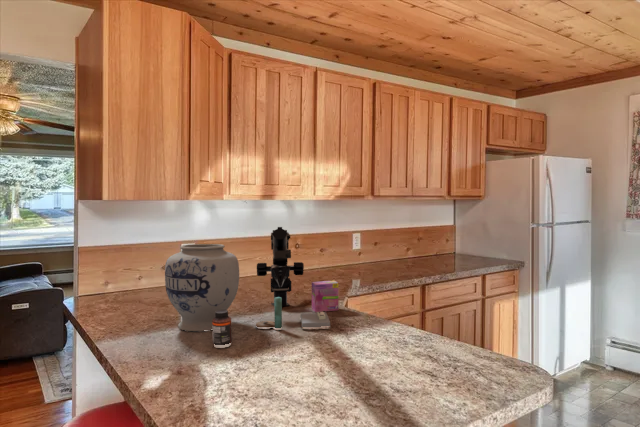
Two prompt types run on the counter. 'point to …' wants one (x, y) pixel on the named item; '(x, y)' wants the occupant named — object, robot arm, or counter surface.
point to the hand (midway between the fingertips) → (280, 286)
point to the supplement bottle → (222, 328)
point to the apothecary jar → (201, 283)
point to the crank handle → (277, 315)
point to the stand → (314, 319)
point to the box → (325, 296)
